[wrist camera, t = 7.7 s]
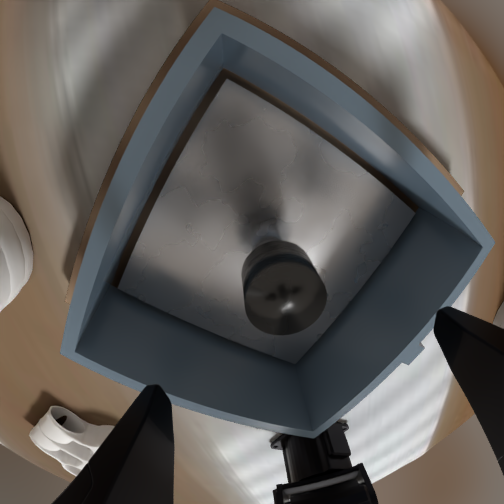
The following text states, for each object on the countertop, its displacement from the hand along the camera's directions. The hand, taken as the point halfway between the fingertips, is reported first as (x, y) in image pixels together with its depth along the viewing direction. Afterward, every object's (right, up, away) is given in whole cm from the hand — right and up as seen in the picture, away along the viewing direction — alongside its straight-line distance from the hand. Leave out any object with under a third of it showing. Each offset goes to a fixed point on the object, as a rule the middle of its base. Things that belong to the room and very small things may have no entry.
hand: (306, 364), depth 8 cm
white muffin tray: (-22, -21, +20) cm, 36 cm away
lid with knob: (-1, +4, +8) cm, 9 cm away
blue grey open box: (0, +3, +8) cm, 9 cm away
